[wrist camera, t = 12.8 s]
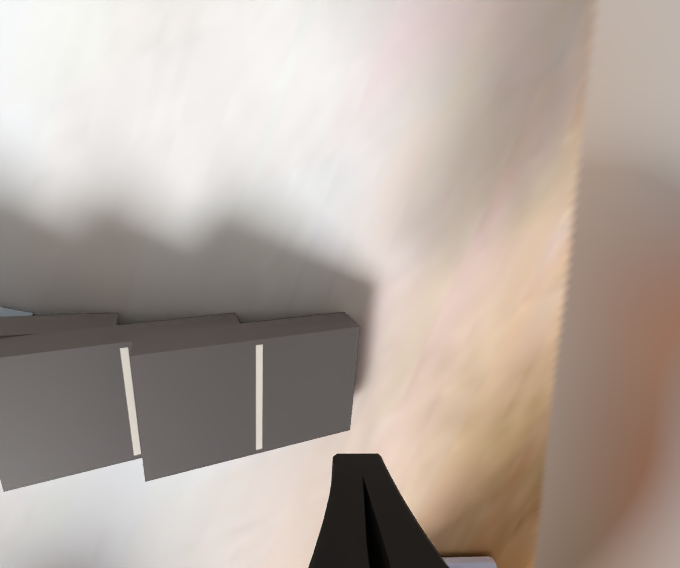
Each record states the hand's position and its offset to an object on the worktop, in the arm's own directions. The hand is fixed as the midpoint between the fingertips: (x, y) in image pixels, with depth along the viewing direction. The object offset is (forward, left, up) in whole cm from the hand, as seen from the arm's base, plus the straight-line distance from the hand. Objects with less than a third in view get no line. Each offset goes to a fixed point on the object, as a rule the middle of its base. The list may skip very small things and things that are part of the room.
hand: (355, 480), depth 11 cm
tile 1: (0, 0, -6) cm, 6 cm away
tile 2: (0, +4, -6) cm, 7 cm away
